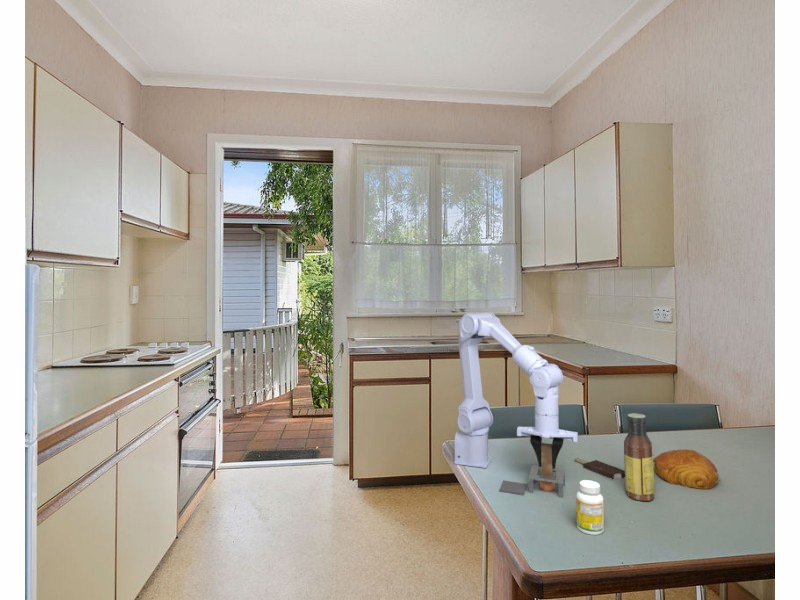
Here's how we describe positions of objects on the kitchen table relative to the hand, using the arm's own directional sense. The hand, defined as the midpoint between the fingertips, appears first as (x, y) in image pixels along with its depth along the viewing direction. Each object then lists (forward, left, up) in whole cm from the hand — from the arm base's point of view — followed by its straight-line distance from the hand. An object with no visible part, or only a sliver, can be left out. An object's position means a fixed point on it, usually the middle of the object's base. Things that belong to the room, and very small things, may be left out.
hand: (547, 466), depth 115 cm
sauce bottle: (+21, +3, -6) cm, 22 cm away
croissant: (+33, +20, -6) cm, 39 cm away
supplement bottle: (+10, -17, -6) cm, 21 cm away
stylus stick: (0, 0, -4) cm, 4 cm away
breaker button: (0, 0, -7) cm, 7 cm away
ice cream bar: (+12, +18, -6) cm, 22 cm away
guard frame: (0, 0, -6) cm, 6 cm away
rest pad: (-8, -3, -6) cm, 10 cm away
